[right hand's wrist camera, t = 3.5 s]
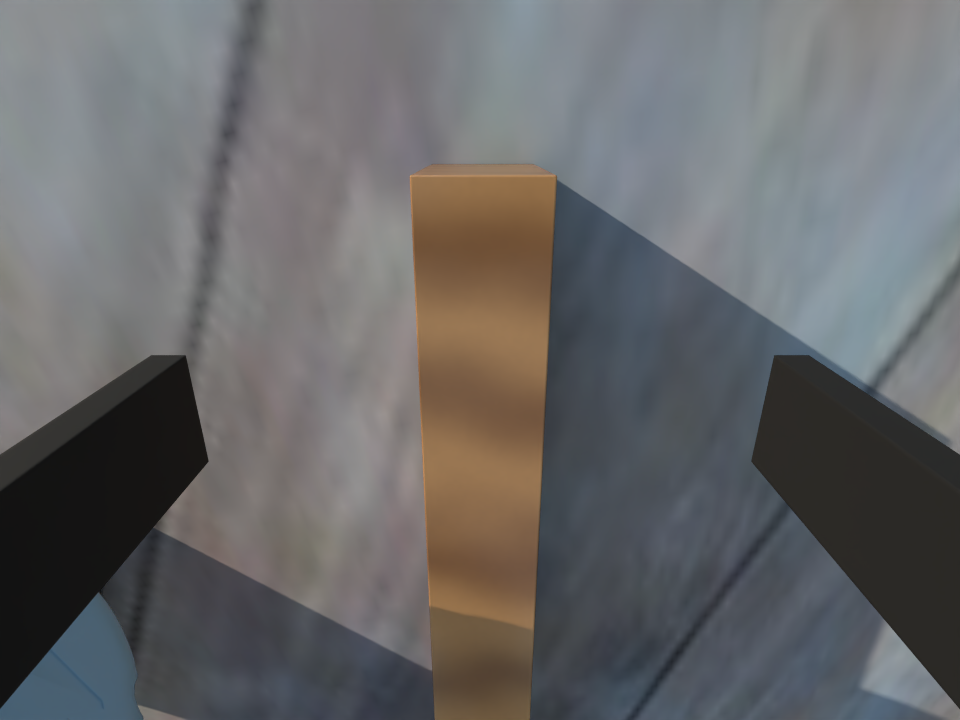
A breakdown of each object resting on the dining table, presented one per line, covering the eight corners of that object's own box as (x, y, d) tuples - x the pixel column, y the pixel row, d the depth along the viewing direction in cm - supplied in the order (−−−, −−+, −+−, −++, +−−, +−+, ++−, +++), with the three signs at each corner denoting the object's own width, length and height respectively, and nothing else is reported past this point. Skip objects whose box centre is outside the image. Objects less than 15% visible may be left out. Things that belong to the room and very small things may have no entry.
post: (430, 164, 24) (409, 175, 17) (534, 164, 24) (557, 175, 17) (453, 869, 43) (447, 1012, 36) (509, 870, 43) (515, 1012, 36)
